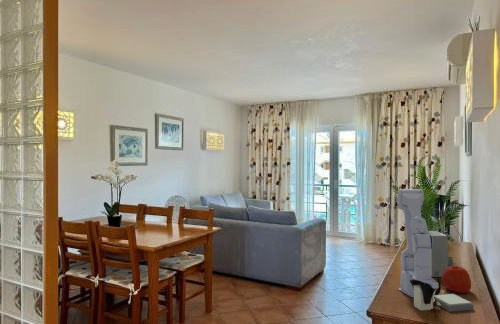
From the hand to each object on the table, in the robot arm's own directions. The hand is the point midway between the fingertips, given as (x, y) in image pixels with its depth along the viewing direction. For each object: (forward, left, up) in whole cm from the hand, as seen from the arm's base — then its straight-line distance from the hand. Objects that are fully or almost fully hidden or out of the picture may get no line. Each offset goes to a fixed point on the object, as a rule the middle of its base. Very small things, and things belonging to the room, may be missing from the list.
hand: (423, 301), depth 132 cm
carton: (0, 0, -2) cm, 2 cm away
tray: (0, +12, -2) cm, 12 cm away
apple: (-14, +26, -3) cm, 30 cm away
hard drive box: (-38, +34, -3) cm, 51 cm away
